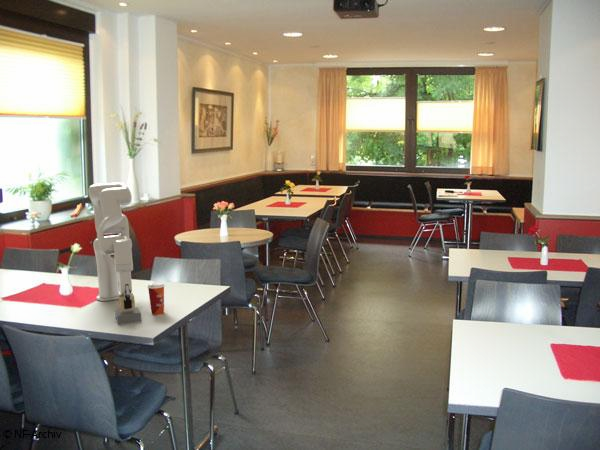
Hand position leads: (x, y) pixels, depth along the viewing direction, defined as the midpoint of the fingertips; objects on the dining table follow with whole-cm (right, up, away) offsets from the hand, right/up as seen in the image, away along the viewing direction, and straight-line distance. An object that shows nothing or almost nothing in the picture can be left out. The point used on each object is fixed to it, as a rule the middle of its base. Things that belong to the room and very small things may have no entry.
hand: (127, 306), depth 283 cm
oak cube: (0, -1, 0) cm, 1 cm away
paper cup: (+12, -5, +10) cm, 16 cm away
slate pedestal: (0, -6, +1) cm, 6 cm away
